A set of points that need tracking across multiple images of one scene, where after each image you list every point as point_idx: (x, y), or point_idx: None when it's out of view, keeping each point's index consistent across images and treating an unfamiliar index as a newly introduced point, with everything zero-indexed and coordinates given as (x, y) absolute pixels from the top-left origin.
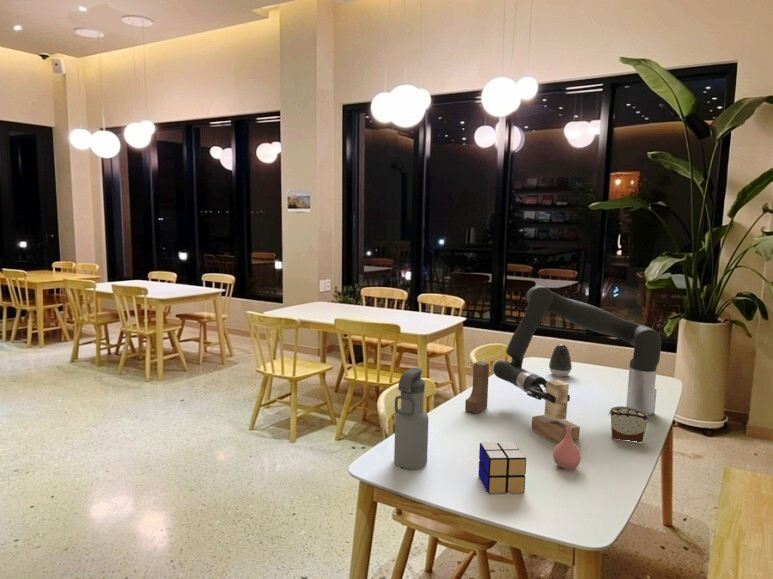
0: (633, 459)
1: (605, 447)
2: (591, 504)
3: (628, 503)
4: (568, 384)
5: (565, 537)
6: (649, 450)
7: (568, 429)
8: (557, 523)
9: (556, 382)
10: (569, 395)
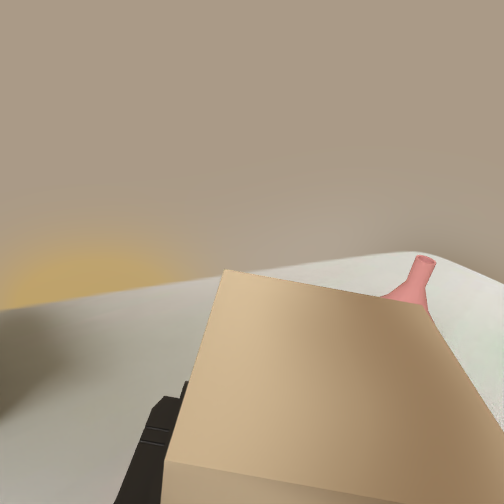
0: (137, 315)
1: (118, 396)
2: (394, 283)
3: (326, 263)
4: (229, 271)
5: (470, 270)
6: (12, 318)
7: (429, 258)
8: (475, 284)
9: (359, 365)
10: (185, 381)
